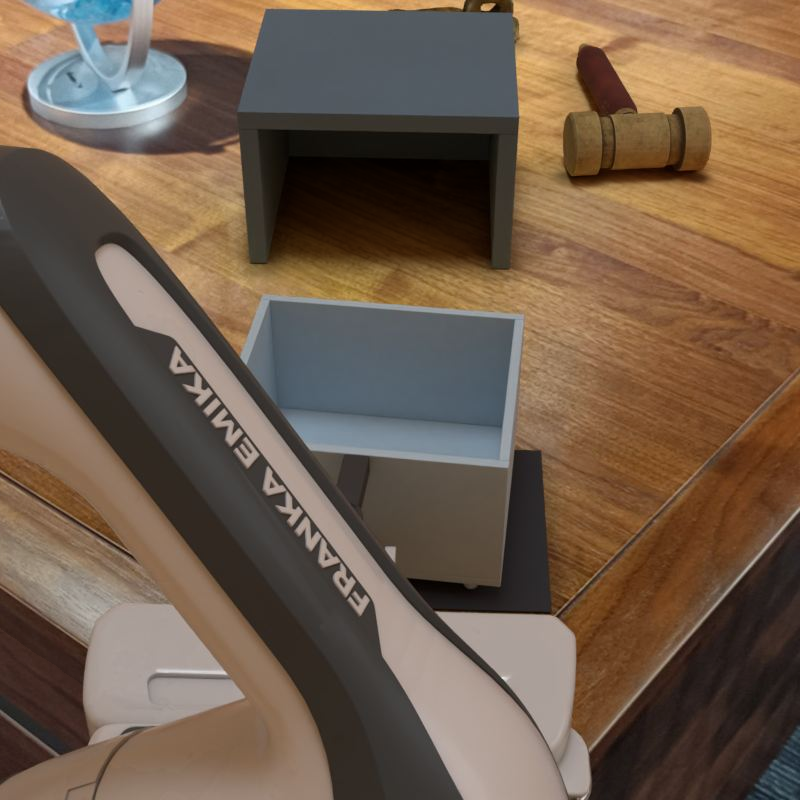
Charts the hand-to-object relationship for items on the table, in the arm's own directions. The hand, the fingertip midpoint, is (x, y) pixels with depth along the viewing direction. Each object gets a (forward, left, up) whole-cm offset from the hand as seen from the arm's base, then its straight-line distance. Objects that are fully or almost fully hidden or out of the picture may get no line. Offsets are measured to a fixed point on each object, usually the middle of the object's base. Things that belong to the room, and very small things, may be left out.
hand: (344, 554), depth 62 cm
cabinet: (0, +40, -6) cm, 40 cm away
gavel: (+17, +54, -6) cm, 57 cm away
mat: (+1, +8, -6) cm, 10 cm away
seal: (+3, +67, -6) cm, 67 cm away
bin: (+1, +7, -6) cm, 9 cm away
